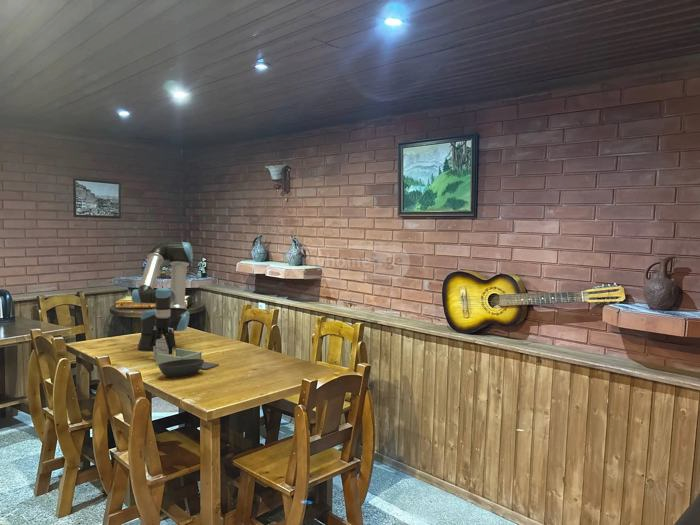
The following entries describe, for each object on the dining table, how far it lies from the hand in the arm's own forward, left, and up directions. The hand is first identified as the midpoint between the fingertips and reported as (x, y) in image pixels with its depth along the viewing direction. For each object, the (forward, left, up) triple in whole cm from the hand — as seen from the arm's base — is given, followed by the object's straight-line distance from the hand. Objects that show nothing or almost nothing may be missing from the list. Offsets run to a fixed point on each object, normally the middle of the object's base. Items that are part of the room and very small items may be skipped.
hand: (162, 358), depth 267 cm
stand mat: (+26, +3, -1) cm, 26 cm away
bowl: (+27, -15, -2) cm, 31 cm away
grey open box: (+12, 0, -1) cm, 12 cm away
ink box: (0, +2, -2) cm, 2 cm away
